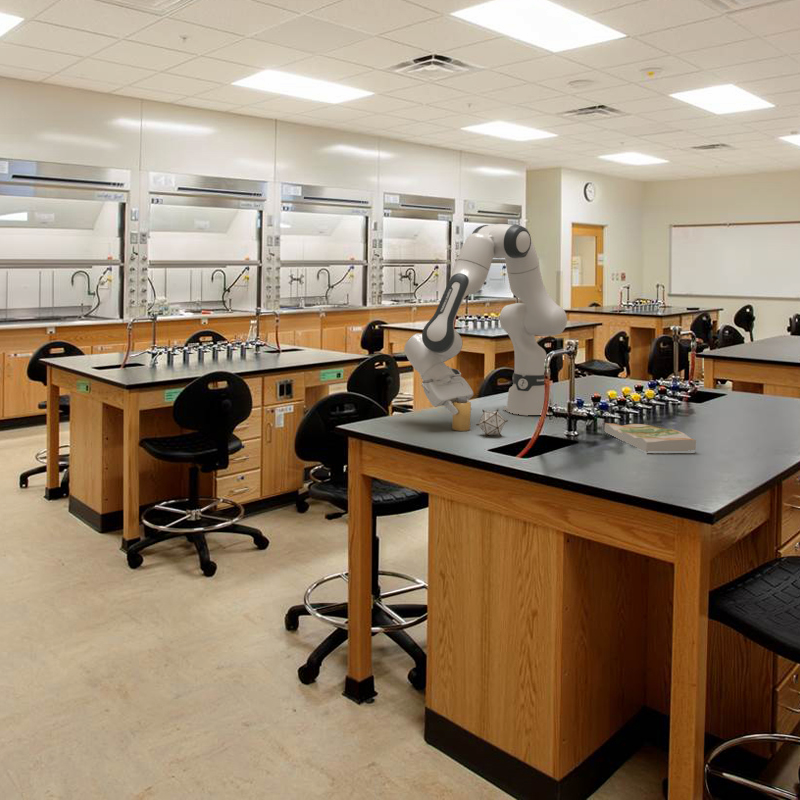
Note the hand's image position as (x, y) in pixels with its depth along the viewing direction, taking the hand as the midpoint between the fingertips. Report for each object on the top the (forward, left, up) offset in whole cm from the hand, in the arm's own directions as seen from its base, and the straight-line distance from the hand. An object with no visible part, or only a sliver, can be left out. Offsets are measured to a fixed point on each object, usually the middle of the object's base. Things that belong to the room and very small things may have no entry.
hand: (463, 412), depth 246 cm
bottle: (0, -1, -5) cm, 5 cm away
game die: (+3, +11, -6) cm, 13 cm away
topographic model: (-17, +53, -6) cm, 56 cm away
